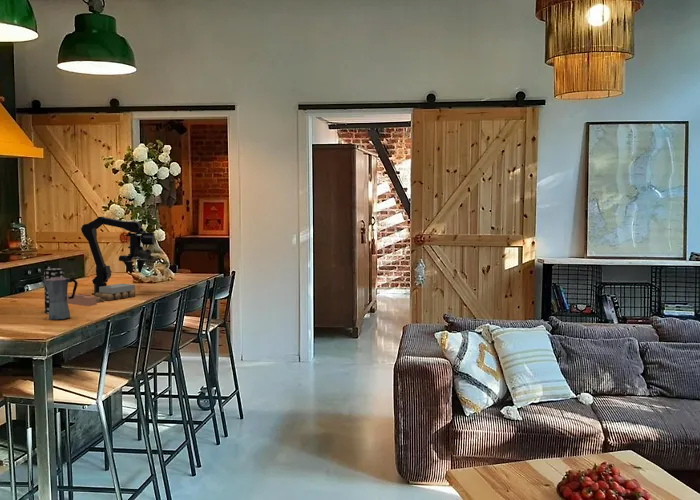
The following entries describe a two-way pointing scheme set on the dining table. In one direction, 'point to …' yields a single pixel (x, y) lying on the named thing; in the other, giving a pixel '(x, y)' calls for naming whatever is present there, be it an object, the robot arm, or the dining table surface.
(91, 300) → the stop beam
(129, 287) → the slab
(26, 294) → the dining table surface
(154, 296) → the dining table surface
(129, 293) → the roller bed
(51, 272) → the white-spotted black cylinder
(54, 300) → the moka pot
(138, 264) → the robot arm
